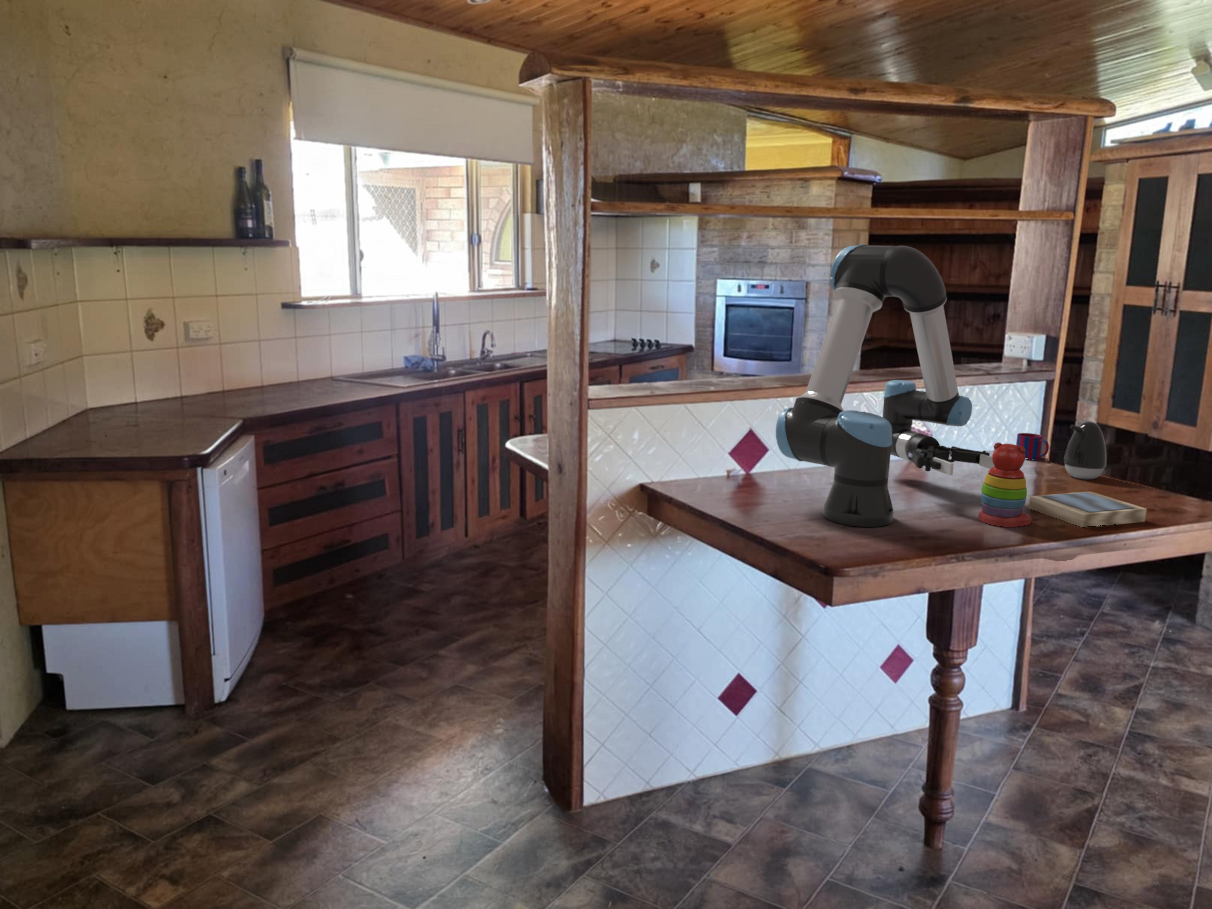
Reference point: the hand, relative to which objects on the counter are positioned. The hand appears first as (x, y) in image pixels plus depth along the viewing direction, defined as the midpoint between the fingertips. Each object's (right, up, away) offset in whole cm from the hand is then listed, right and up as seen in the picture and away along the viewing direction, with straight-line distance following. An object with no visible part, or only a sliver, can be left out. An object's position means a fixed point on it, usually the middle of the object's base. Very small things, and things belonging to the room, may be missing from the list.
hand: (976, 467), depth 221 cm
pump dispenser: (+43, -3, +37) cm, 56 cm away
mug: (+38, +2, +58) cm, 69 cm away
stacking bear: (+3, -12, -7) cm, 14 cm away
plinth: (+25, -11, 0) cm, 27 cm away
